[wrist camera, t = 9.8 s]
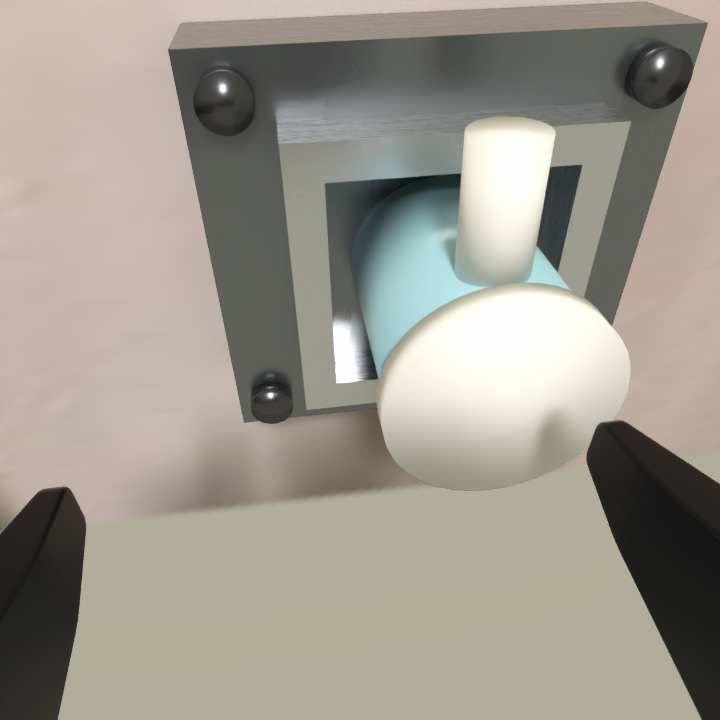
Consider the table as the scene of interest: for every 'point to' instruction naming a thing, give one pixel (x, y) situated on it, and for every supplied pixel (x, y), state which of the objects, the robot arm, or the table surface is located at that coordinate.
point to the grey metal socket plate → (407, 159)
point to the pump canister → (482, 321)
